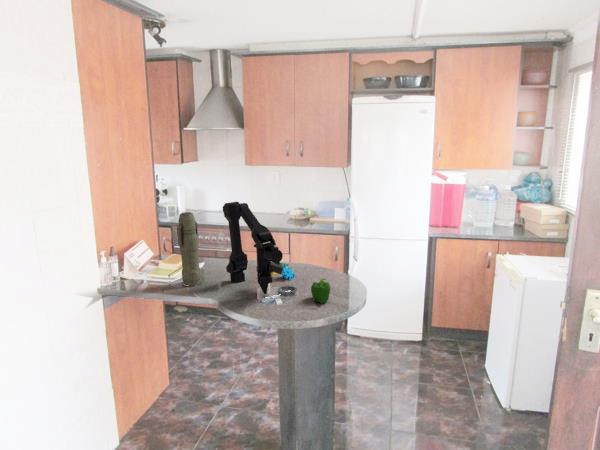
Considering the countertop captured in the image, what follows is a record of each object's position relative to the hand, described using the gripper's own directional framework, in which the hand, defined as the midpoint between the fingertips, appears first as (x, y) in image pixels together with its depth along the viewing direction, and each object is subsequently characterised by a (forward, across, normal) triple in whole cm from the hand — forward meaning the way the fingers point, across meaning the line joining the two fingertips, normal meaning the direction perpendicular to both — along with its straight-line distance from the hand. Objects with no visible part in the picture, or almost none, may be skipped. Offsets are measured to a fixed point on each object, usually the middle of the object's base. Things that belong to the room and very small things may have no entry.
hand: (264, 291), depth 189 cm
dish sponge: (+2, +35, -8) cm, 36 cm away
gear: (+2, +19, -12) cm, 23 cm away
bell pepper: (+2, -11, -24) cm, 26 cm away
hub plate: (+2, 0, -6) cm, 6 cm away
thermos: (+2, +23, +34) cm, 42 cm away
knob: (+1, 0, 0) cm, 1 cm away
